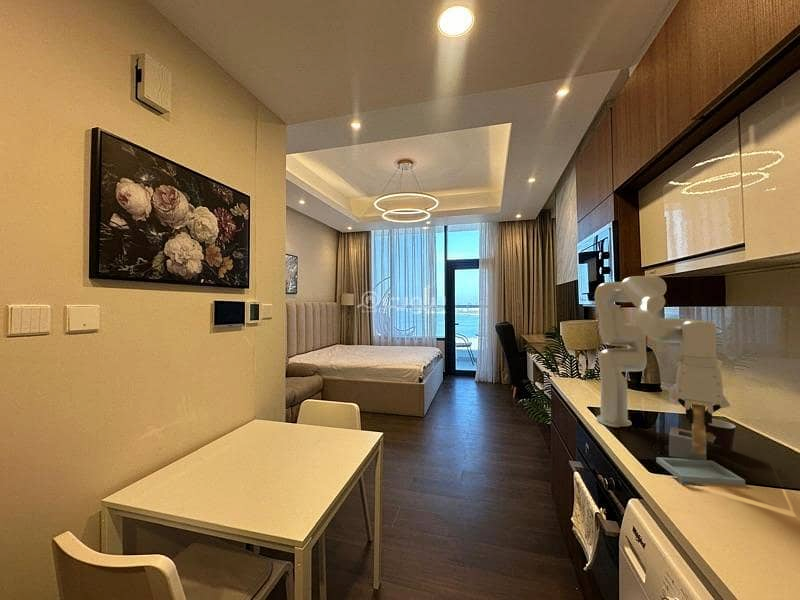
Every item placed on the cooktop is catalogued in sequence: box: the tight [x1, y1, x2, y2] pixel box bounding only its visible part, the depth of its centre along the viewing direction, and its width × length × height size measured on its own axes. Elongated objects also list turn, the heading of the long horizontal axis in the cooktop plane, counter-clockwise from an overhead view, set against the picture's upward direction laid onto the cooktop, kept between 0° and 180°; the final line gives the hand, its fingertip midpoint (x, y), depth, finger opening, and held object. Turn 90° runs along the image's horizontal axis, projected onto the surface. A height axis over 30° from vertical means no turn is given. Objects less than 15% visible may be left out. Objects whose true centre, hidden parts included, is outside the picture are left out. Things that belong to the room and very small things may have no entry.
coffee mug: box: [690, 418, 736, 455], centre depth 113 cm, size 12×9×10 cm
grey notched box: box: [668, 426, 707, 460], centre depth 107 cm, size 9×9×8 cm
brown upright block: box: [691, 403, 707, 455], centre depth 96 cm, size 3×3×14 cm
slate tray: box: [655, 456, 746, 488], centre depth 96 cm, size 11×16×2 cm
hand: (698, 423), depth 96 cm, fingers closed on brown upright block, 3 cm apart
